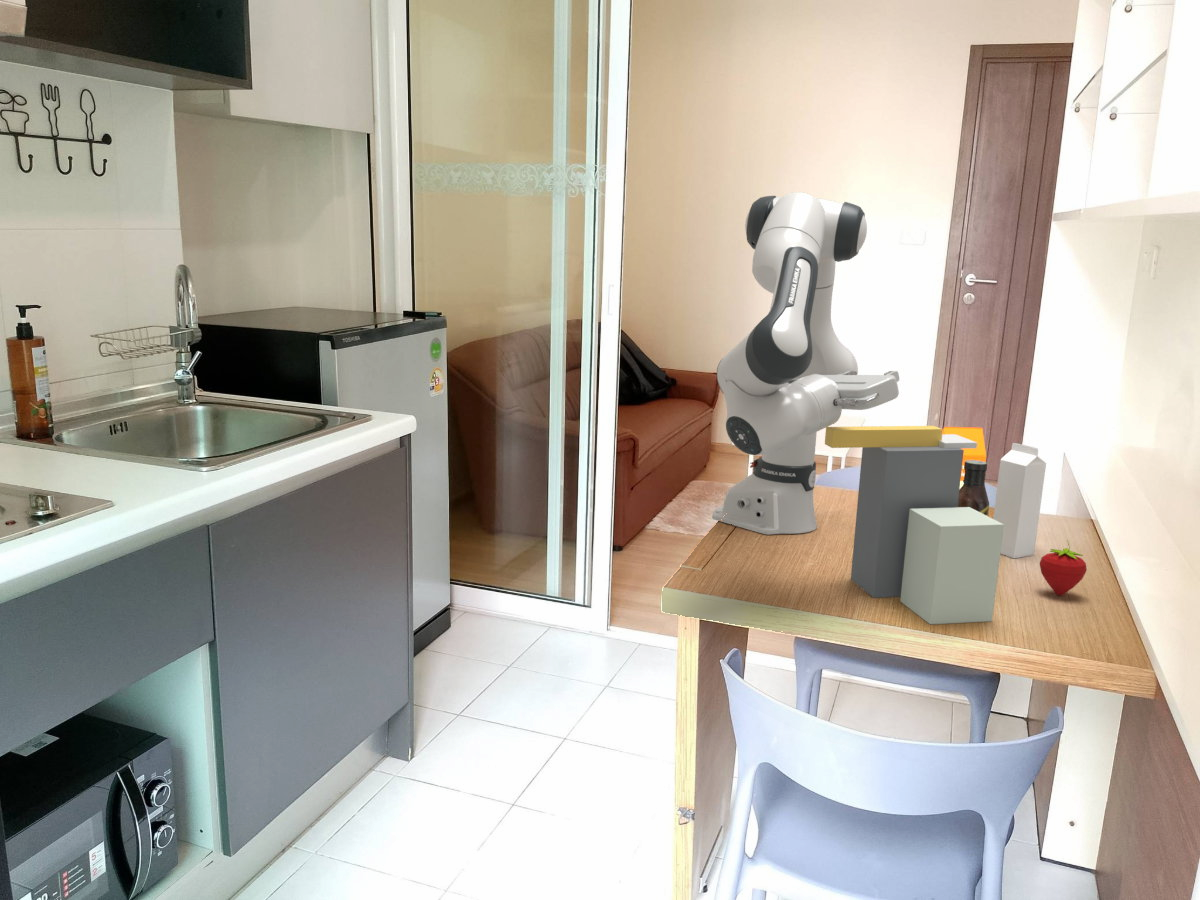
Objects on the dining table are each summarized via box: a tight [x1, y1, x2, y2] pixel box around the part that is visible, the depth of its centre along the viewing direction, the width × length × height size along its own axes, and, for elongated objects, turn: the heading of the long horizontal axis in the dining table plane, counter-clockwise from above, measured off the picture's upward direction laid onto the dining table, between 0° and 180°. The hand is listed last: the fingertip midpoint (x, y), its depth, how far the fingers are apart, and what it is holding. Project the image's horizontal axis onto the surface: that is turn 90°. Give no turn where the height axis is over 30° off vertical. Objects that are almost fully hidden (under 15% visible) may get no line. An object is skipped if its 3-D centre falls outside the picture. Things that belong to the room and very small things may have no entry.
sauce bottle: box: [958, 460, 990, 517], centre depth 183 cm, size 6×6×20 cm
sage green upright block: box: [899, 507, 1004, 625], centre depth 158 cm, size 11×10×16 cm
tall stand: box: [850, 446, 964, 599], centre depth 167 cm, size 14×9×26 cm, turn 101°
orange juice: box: [942, 426, 987, 490], centre depth 216 cm, size 8×9×20 cm
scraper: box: [824, 425, 977, 449], centre depth 164 cm, size 26×7×3 cm, turn 101°
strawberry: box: [1039, 539, 1087, 596], centre depth 167 cm, size 6×8×10 cm
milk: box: [992, 442, 1047, 559], centre depth 189 cm, size 6×6×22 cm
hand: (874, 375), depth 162 cm, fingers open, 8 cm apart
